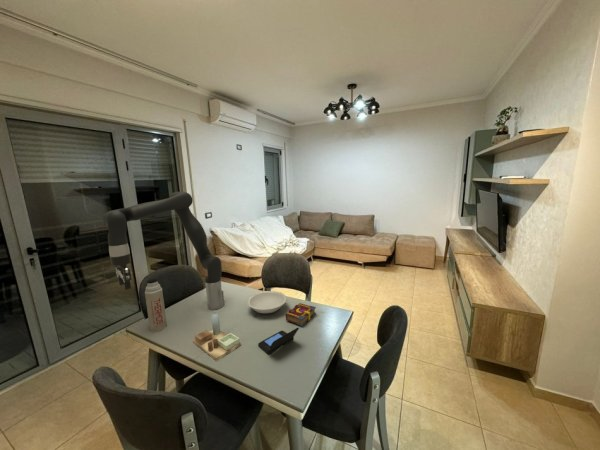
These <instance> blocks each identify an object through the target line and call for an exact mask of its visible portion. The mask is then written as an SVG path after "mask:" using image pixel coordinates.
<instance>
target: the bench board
mask: <svg viewBox="0 0 600 450" xmlns="http://www.w3.org/2000/svg"><path fill="white" fill-rule="evenodd" d="M209 332H210V333H212V339H211V340H210V341H208V342H206V343H204V344H202V345H200V344H199V343H197V342H196V340H195V338H194V339H192V343H193V344H194V345H196V347H198V348H199V349H201V350H202V352H204V353H206V354H207V355H208V356H209V357H211V358H212V359H213V360H215V362H217V361H219V360H220V359H222V358H223V357H225V356H226V355H229V354H230V353H231V352H233V351H235V350H236V349H238V348H240V347H241V342H240V343H239V344H238V345H236V346H234V347H233V348H231V349H230V350H228V351H226V350H225V349H223V348H222V347H220V346H219V345H218V340H219V339H221V338H222V337H224V336H226V335H228V334H227V333H225V332H223V331H222V330H220V334H219V335H213V329H212V330H209Z"/></svg>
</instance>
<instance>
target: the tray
mask: <svg viewBox="0 0 600 450" xmlns="http://www.w3.org/2000/svg"><path fill="white" fill-rule="evenodd" d="M240 338H241V337H238V336H237V335H235V334H233V333H232V332H230V333H228V334H227V335H226V336H224V337H222V338H221V339H219V340H218V345H219V346H220V347H222V348H223V349H225V350H226V351H228V350H230V349H231V348H233V347H234V346H236V345H238V344H239V343H241V341H240Z"/></svg>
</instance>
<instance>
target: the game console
mask: <svg viewBox="0 0 600 450" xmlns="http://www.w3.org/2000/svg"><path fill="white" fill-rule="evenodd" d="M298 331H299V327H296V328H294V329H293V330H291V331H289V332H286V331H284V330H280V331H278V332H276V333H274V334H273V335H271V336H268V337H267V338H265V339H263V340H262V341H260V342H258V343H257V345H258V347H259V348H260V349H261V350H262V351H263V352H265V353H266V354H267V355H271V354H272V353H274V352H276V351H277V350H279V349H280V348H281V347H284V346H286V345H288V344H289V343H291V342H292V341H294V340H295V336H296V334H297V332H298Z"/></svg>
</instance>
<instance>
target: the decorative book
mask: <svg viewBox="0 0 600 450" xmlns="http://www.w3.org/2000/svg"><path fill="white" fill-rule="evenodd" d="M315 309H317V307H316V306H313V305H307V304H304V303H300V302H299V303H298V304H295V305H294V307H293V308H291V309H289V310H288V311H287V313H285V321H287V322H289V323H292V324H296V325H297V326H301V327H303V326H304V325H305V324H307V322H309V321H310V320H311V318H313V317H314V316H315V315H316V311H315Z"/></svg>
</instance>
